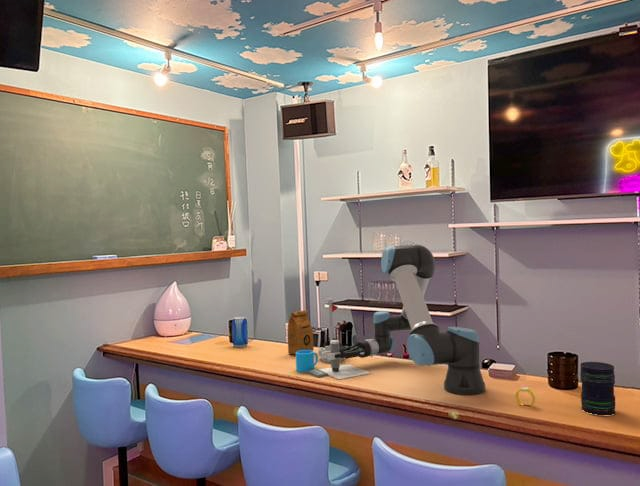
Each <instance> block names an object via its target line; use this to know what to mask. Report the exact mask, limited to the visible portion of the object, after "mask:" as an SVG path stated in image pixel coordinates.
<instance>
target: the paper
mask: <svg viewBox="0 0 640 486" xmlns="http://www.w3.org/2000/svg"><path fill="white" fill-rule="evenodd" d="M318 369H319V368H318ZM319 370H321V371H323V372H326V373H328V377H332V378H334V379H336V380H339V381H340V380H346V379H350V378H354V377H355V378H356V377H361V376H366V375H370V374H371V372H369V371H367V370H364V369H361V368H358V367H356V366H353V365H350V364H343V365H340V367H339V371H332V368H331V367H327V368H325V367H324V368H320V369H319Z"/></svg>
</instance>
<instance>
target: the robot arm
mask: <svg viewBox="0 0 640 486" xmlns="http://www.w3.org/2000/svg"><path fill="white" fill-rule="evenodd" d="M380 264H381V265H380V266H381V271H382V273H384V274H386V275H389V279H390V280H392V282H394V283H395V285H396V287H397V290H398V294H399V296H400V299H401V302H402V305H403V306H402V309H401V313H400V314H391V313H390V312H389V311H385V310H384V311H383V310H382V311H376V312H374V313H373V321H372V322H373V335H374V337H373V338H368V339H364V340H359V341H357V342H356V344H355V345H350V346H348V345H343V346H340V347H339V352H336V353H331V351H326V352H321V356H322V359H324V358H327V360H328V361H329V360H334V359H339V358H343V359H347V360H348V359H354V358H361V359H364V358H368V357H371V358H372V357H373V356H377V355H384V354H387V353H388V354H389V353H391V352H393V351H394V350H395V349H396V345H397V344H396V341H395V338H394V336H391V332H400V331H402V332H404V331H410V332H409V336H408V338H407V340H406V345H407V347H406V348H407V352H408V355H409V357H410V359H411V360H412V362H413V363H414V364H416V365H417V366H421V367H422V366H424V367H425V366H427V367H430V366H435V365H436V366H437V365H445V364H447V371H446V375H445V379H444V382H443V389H444V390H445V391H447V392H448V393H451V394H457V395H465V396H466V395H470V396H471V395H473V396H474V395H480V394H482V393H485V391H486V382H485V381H484V378H483V375H482V372H481V366H480V365H481V364H480V360H481V359H480V358H481V357H480V336H479V333H478V331H476V330H475V329H471V328H465V327H459V326H448V327H447V328H446V331H441V330H440V327H439V325H438V324H436V323H434V322H433V320H432V317H431V314H430V311H429V309H428V305H427V303H426V300H425V298H424V296H425V293H426V291H427V287H428V285H429V281H430V279H431V278H433V277H434V274H435V272H436V259H435V257H434V255H433V253H432V252H431V250H429V248H427V247H426V246H424V245H421V244H414V245H413V244H411V245H410V244H409V245H408V244H407V245H406V244H405V245H403V244H402V245H390V246H389V245H388V246H386V247H384V249H383V251H382V254H381V261H380ZM321 356H320V357H321Z"/></svg>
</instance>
